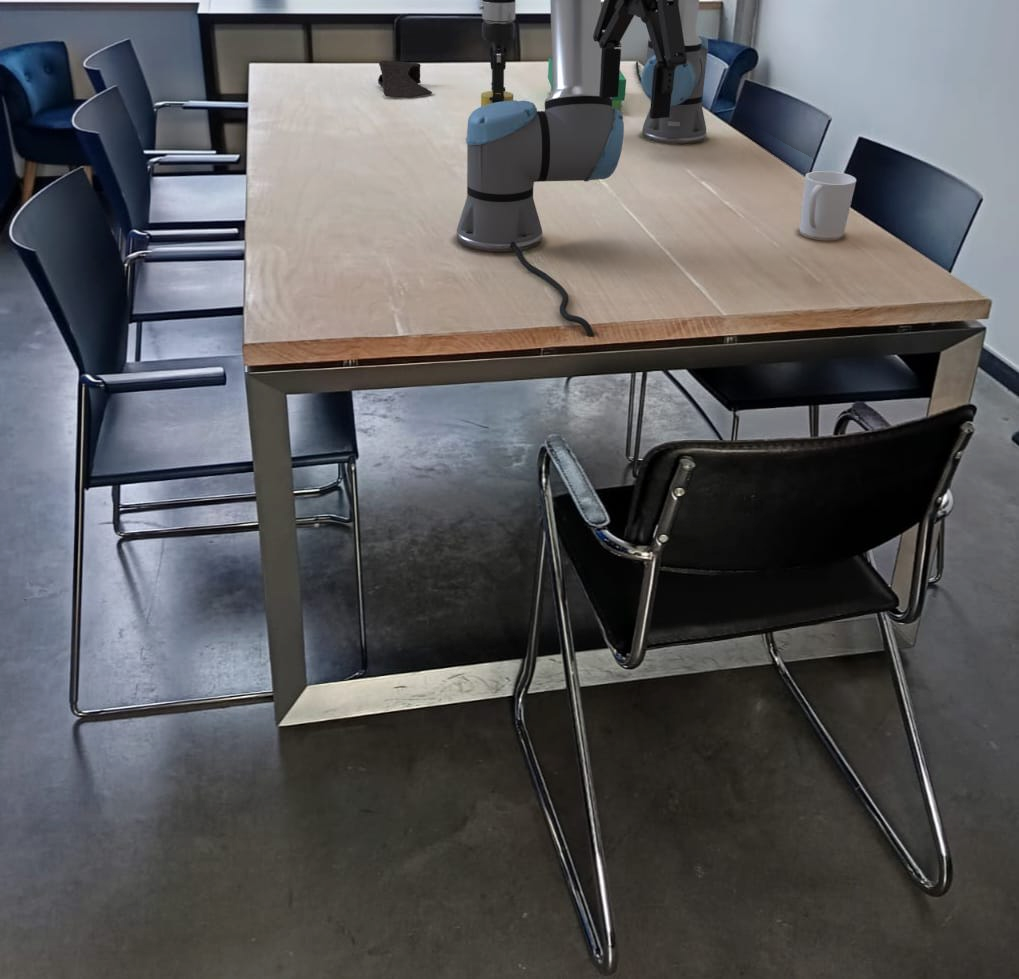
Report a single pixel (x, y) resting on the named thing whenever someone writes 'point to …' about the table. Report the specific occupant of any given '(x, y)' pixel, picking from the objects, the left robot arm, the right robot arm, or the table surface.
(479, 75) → the table surface
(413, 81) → the axe head
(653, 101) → the left robot arm
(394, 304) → the table surface
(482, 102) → the canister
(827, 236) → the mug
